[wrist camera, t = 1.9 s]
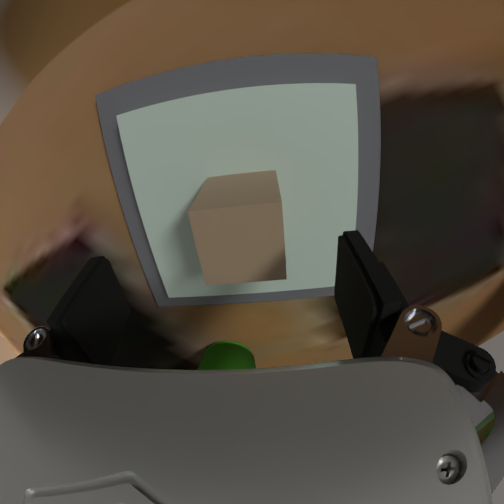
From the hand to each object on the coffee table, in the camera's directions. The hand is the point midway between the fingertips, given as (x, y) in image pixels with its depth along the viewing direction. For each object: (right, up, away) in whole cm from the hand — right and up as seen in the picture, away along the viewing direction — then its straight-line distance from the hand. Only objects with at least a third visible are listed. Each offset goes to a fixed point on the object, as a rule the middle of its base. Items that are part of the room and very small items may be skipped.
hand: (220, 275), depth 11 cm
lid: (+1, +4, +7) cm, 8 cm away
